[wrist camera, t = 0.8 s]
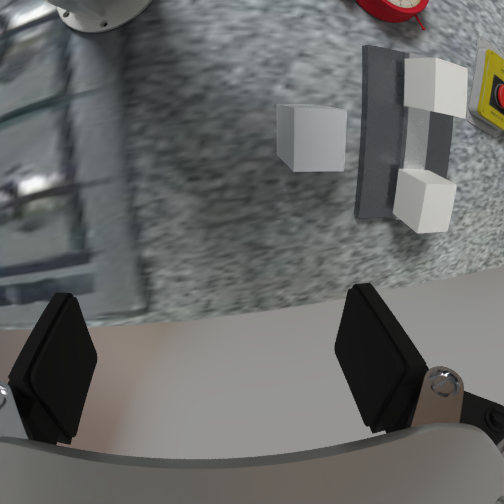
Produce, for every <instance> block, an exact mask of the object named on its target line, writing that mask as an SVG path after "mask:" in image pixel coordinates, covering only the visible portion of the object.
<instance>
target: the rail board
mask: <svg viewBox="0 0 504 504" xmlns="http://www.w3.org/2000/svg"><path fill="white" fill-rule="evenodd" d="M409 58H428V57H425V56H421V55H418V54H414V53H410V52H408V53H404V52H400V51H396V50H391V49H387V48H382V47H377V46H371V45H365V46H362V67H363V75H362V119H361V139H360V155H359V169H358V180H357V191H356V201H355V210H354V214H355V215H356V216H357V217H358V218H359V219H360V218H381V217H393V218H394V219H396V220H400V219H399V218H398V217H397V216H396V215H394V214H393V208H394V201H395V194H396V187H397V179H398V171H399V169H416V170H429V171H431V172H433V173H435V174H437V175H439V176H441V177H443V178H445V179H446V176H447V169H448V162H449V155H450V146H451V137H452V127H453V116H452V115H447V114H443V113H438V112H433V111H428V110H423V109H418V108H413V107H408V106H404V83H405V59H409Z"/></svg>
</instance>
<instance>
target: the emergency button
mask: <svg viewBox="0 0 504 504" xmlns="http://www.w3.org/2000/svg"><path fill="white" fill-rule="evenodd" d="M466 118H467V121H468V122H470V123H471V124H473V125H475V126H477V127H478V128H480V129H482V130H483V131H485V132H487V133H488V134H490V135H491V136H493V137H495V138H497V137H498V136H499V134H500V131H503V132H504V55H503V54H502V53H501V52H499V51H498V50H497V49H496V48H495V47H493V46H492V45H491V44H490V43H488V42H487V41H486V40H485V39H483V38H481V37H480V38H478V42H477V51H476V60H475V67H474V74H473V80H472V86H471V92H470V97H469V102H468V107H467V112H466Z"/></svg>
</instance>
